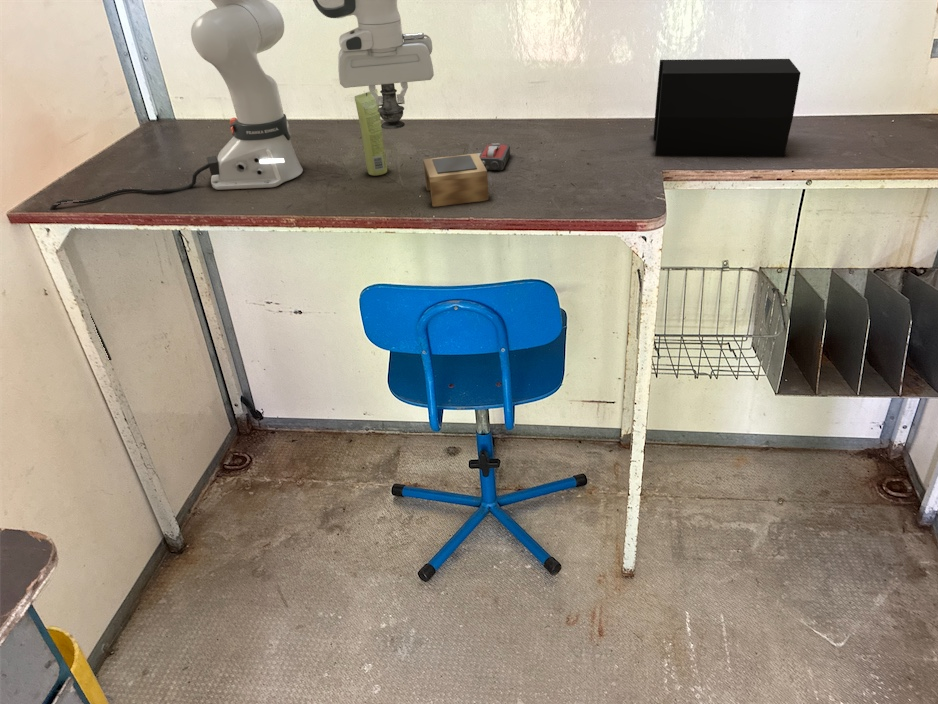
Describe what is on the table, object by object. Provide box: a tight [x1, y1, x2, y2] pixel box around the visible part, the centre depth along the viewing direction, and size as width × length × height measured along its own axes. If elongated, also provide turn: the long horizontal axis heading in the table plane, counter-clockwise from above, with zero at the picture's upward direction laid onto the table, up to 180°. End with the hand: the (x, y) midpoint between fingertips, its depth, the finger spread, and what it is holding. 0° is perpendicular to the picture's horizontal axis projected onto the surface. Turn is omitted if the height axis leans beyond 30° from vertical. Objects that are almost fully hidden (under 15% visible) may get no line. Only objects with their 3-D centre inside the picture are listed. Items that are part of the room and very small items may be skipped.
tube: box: [354, 88, 388, 176], centre depth 174 cm, size 6×5×20 cm
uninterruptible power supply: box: [652, 58, 801, 158], centre depth 181 cm, size 16×34×20 cm, turn 83°
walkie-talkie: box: [477, 142, 511, 171], centre depth 179 cm, size 9×4×20 cm
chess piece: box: [378, 83, 405, 130], centre depth 155 cm, size 6×6×12 cm
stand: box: [422, 152, 489, 208], centre depth 165 cm, size 13×12×7 cm
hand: (390, 104), depth 156 cm, fingers closed on chess piece, 3 cm apart
